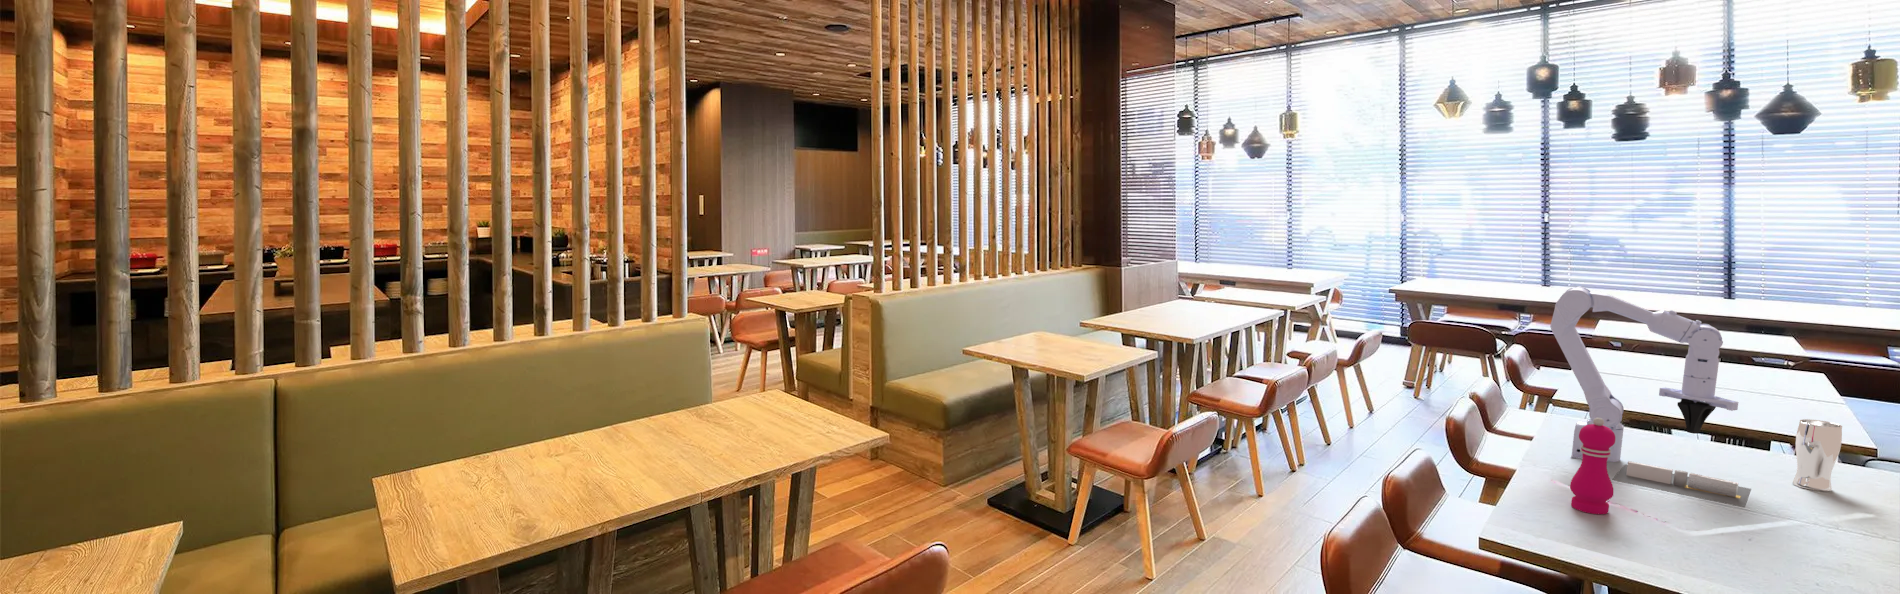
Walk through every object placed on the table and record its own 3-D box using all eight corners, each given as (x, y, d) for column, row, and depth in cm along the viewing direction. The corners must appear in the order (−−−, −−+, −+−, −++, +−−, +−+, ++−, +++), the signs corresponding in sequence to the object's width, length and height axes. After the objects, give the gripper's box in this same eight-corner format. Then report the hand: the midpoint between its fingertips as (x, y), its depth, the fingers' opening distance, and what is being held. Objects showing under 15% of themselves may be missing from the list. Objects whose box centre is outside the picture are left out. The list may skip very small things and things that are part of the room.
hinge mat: (1611, 483, 186) (1613, 466, 185) (1624, 467, 196) (1626, 451, 196) (1744, 510, 169) (1746, 492, 169) (1750, 492, 180) (1752, 475, 179)
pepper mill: (1619, 516, 166) (1629, 423, 164) (1579, 514, 168) (1589, 421, 165) (1598, 503, 173) (1608, 414, 171) (1561, 501, 175) (1570, 412, 172)
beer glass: (1813, 482, 186) (1822, 419, 184) (1843, 493, 179) (1853, 428, 177) (1780, 481, 187) (1789, 418, 185) (1809, 492, 180) (1818, 427, 178)
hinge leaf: (1687, 486, 180) (1689, 474, 180) (1689, 485, 181) (1690, 473, 181) (1735, 497, 174) (1737, 484, 174) (1736, 496, 175) (1738, 482, 174)
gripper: (1653, 371, 194) (1646, 425, 195) (1726, 384, 180) (1719, 443, 182) (1672, 369, 196) (1666, 423, 198) (1746, 382, 182) (1739, 440, 184)
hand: (1693, 432), depth 190 cm, fingers closed
